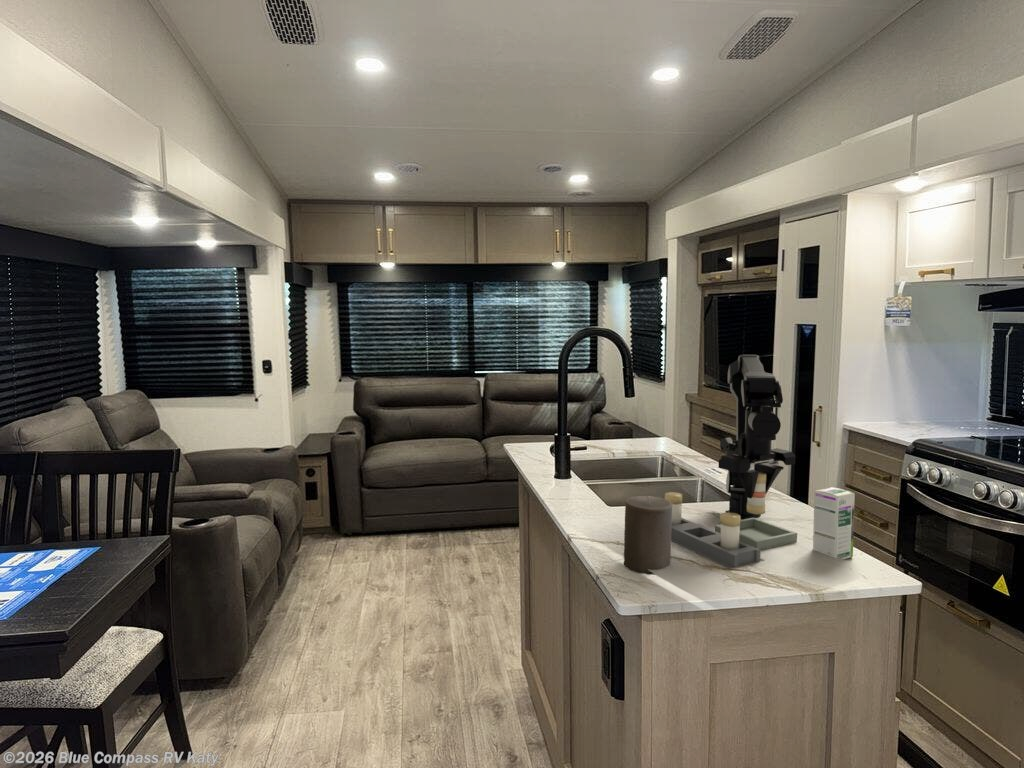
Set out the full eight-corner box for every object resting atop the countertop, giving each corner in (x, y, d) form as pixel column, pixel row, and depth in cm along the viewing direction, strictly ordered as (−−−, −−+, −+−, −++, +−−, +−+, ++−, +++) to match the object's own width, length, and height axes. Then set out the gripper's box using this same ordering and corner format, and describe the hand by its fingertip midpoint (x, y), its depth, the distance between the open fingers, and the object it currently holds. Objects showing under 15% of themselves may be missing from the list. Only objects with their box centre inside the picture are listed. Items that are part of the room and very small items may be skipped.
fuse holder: (642, 532, 152) (643, 518, 152) (675, 526, 156) (675, 512, 156) (729, 573, 127) (729, 556, 127) (764, 564, 131) (765, 548, 131)
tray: (753, 529, 154) (753, 517, 153) (796, 545, 142) (797, 532, 142) (714, 537, 148) (714, 525, 148) (756, 555, 137) (756, 541, 136)
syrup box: (836, 562, 132) (839, 495, 131) (811, 553, 137) (814, 489, 136) (853, 557, 135) (856, 492, 133) (828, 549, 140) (831, 485, 139)
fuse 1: (673, 527, 152) (674, 491, 151) (685, 532, 149) (685, 495, 148) (660, 530, 151) (661, 493, 150) (671, 535, 147) (672, 497, 146)
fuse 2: (729, 551, 136) (730, 511, 135) (743, 557, 133) (744, 516, 132) (715, 554, 134) (716, 514, 134) (729, 561, 131) (730, 519, 130)
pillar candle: (623, 572, 128) (625, 501, 126) (623, 555, 137) (625, 488, 136) (672, 576, 126) (675, 504, 124) (669, 558, 136) (671, 490, 134)
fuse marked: (755, 508, 147) (756, 470, 146) (769, 512, 144) (770, 474, 143) (742, 510, 145) (744, 472, 144) (756, 515, 142) (757, 476, 141)
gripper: (759, 421, 154) (757, 483, 155) (701, 428, 146) (700, 493, 147) (798, 428, 144) (795, 494, 146) (738, 435, 136) (736, 505, 137)
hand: (756, 496), depth 144 cm, fingers closed on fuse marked, 4 cm apart
